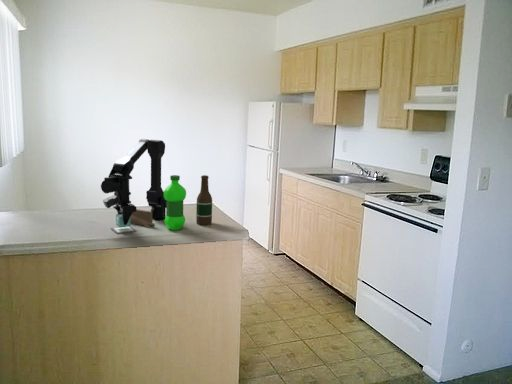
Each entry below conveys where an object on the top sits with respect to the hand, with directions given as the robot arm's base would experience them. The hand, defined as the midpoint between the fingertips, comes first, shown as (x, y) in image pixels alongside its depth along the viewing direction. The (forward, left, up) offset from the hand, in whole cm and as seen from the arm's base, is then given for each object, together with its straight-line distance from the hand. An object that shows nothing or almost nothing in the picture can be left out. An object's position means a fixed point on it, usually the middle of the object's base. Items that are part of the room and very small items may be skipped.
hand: (123, 223), depth 202 cm
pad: (0, 0, -3) cm, 3 cm away
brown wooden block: (-10, -6, -3) cm, 12 cm away
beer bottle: (-38, +7, -4) cm, 39 cm away
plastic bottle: (-22, +8, -3) cm, 23 cm away
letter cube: (0, 0, -1) cm, 1 cm away
